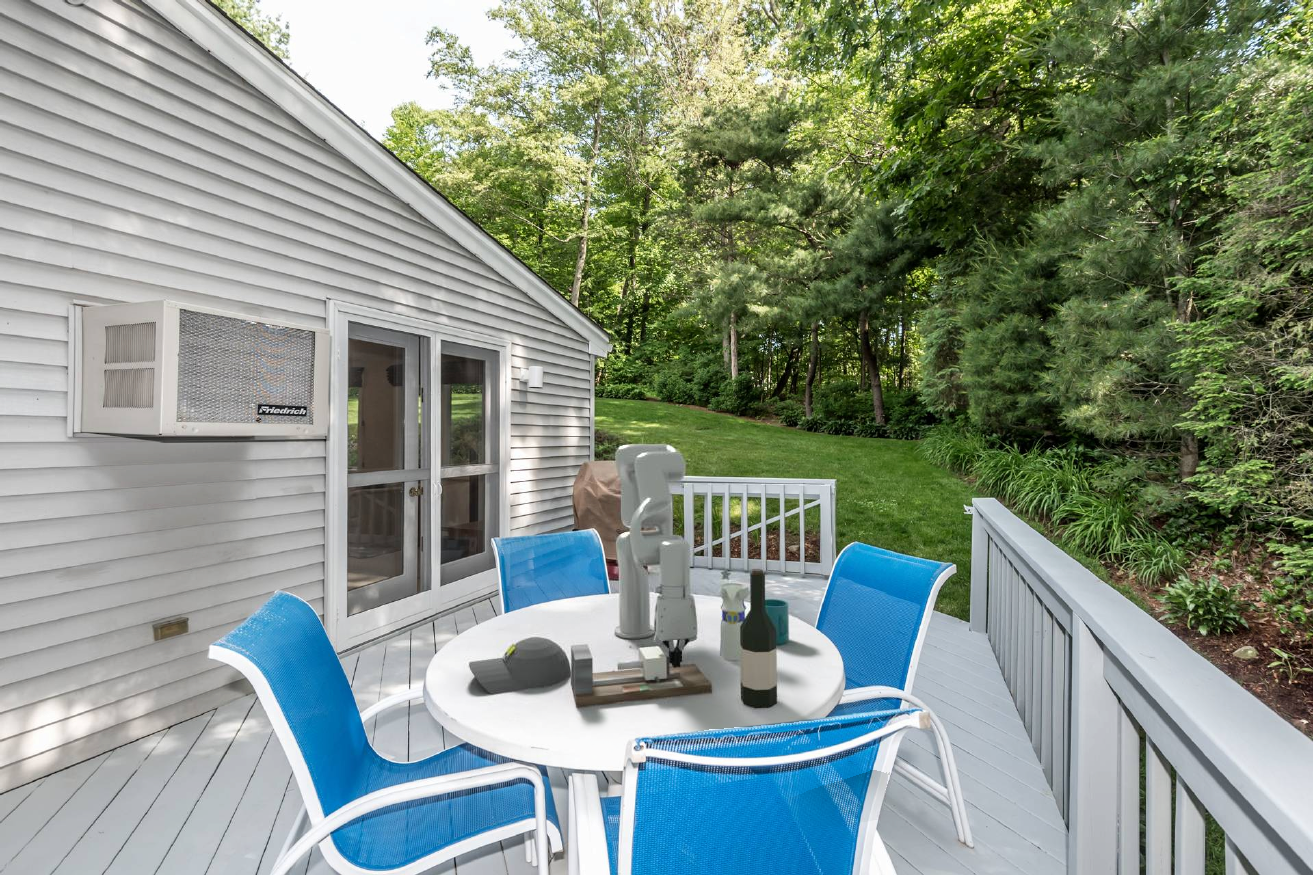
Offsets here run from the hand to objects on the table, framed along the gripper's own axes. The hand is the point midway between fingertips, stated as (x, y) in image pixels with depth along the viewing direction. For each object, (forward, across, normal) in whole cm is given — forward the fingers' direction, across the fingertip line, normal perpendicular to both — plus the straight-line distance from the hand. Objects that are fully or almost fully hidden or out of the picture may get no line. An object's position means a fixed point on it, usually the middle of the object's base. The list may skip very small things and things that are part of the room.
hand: (675, 665), depth 149 cm
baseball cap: (+5, -37, +15) cm, 40 cm away
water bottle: (+5, +21, +15) cm, 26 cm away
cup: (+5, +37, +23) cm, 44 cm away
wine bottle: (+5, +16, -14) cm, 22 cm away
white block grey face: (+1, -8, -1) cm, 8 cm away
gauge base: (+5, -9, 0) cm, 10 cm away
